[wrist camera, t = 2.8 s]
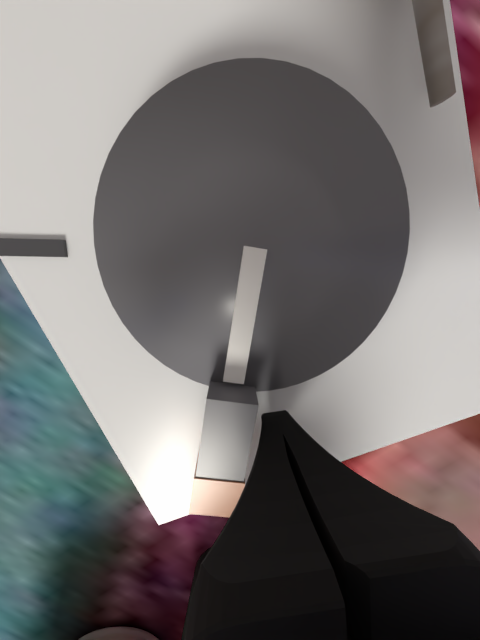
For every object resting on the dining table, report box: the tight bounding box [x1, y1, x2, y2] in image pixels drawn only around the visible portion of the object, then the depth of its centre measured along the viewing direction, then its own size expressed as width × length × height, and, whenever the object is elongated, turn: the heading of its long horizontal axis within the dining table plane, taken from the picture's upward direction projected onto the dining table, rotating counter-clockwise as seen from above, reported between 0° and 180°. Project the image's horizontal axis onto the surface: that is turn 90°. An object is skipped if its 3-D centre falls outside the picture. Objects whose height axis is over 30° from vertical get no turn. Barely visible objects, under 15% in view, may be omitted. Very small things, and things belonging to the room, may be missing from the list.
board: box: [0, 0, 480, 525], centre depth 11 cm, size 20×24×1 cm
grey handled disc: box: [93, 58, 410, 518], centre depth 9 cm, size 16×11×3 cm
